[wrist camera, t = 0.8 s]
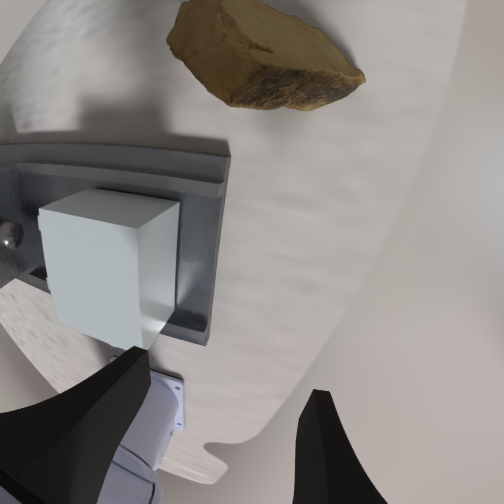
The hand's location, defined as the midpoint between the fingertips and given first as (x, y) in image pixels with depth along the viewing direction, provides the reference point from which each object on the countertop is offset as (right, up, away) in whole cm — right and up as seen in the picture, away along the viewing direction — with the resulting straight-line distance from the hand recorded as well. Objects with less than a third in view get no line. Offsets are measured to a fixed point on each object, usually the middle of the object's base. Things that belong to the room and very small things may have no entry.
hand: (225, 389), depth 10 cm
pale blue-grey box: (-9, +5, +9) cm, 14 cm away
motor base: (-14, +7, +11) cm, 19 cm away
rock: (+2, +17, +4) cm, 18 cm away
